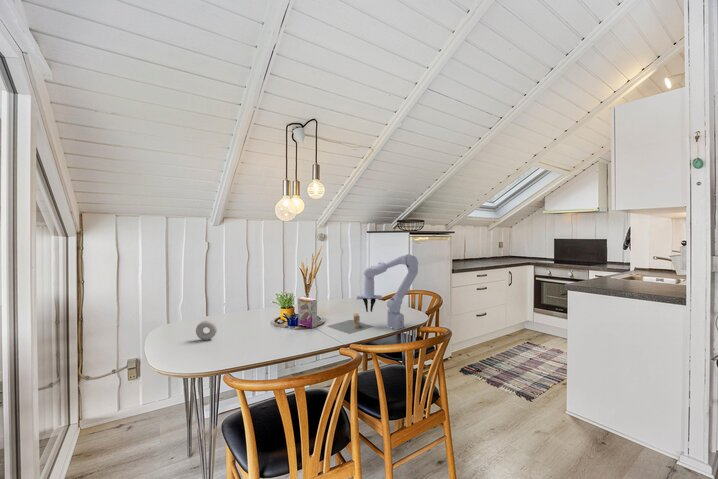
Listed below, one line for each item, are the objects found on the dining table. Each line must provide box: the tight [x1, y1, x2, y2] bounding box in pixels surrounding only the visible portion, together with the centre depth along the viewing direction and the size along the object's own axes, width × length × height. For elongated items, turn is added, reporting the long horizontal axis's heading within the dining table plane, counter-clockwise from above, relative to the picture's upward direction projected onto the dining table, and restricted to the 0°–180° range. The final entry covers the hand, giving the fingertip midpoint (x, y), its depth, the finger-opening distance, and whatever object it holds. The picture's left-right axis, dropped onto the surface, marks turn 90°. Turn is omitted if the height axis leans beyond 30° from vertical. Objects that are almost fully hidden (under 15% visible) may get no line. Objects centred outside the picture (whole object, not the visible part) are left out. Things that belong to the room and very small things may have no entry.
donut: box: [195, 320, 218, 341], centre depth 173 cm, size 10×4×10 cm, turn 104°
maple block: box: [352, 313, 360, 328], centre depth 195 cm, size 3×6×7 cm, turn 5°
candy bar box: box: [297, 296, 318, 329], centre depth 198 cm, size 11×5×16 cm, turn 58°
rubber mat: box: [326, 319, 375, 335], centre depth 196 cm, size 20×20×1 cm
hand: (369, 311), depth 196 cm, fingers closed
